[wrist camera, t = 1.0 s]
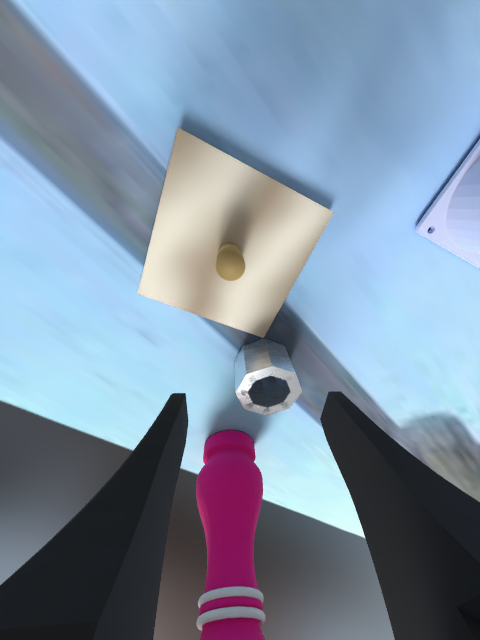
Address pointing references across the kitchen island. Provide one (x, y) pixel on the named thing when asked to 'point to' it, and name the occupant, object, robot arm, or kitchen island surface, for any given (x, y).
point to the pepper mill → (230, 538)
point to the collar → (265, 377)
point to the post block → (227, 238)
